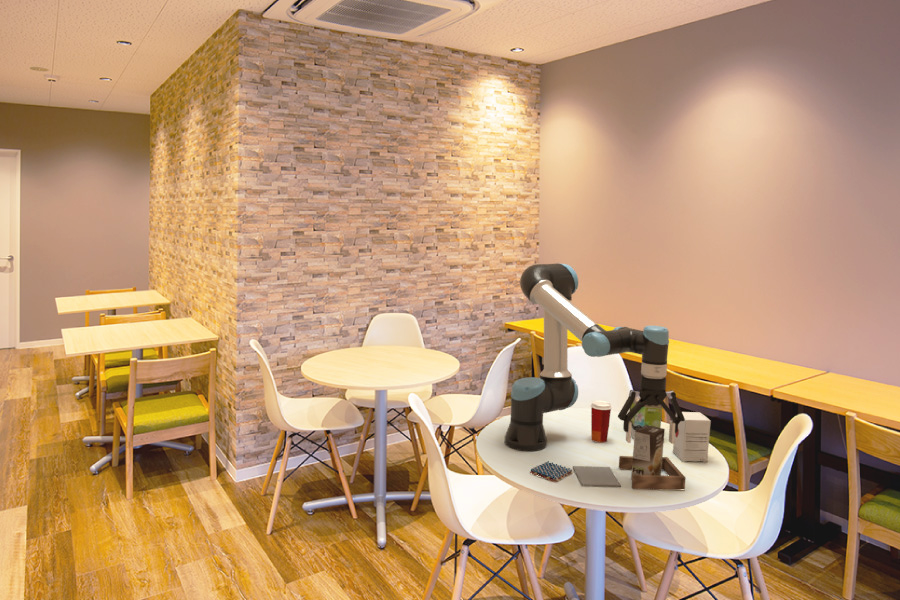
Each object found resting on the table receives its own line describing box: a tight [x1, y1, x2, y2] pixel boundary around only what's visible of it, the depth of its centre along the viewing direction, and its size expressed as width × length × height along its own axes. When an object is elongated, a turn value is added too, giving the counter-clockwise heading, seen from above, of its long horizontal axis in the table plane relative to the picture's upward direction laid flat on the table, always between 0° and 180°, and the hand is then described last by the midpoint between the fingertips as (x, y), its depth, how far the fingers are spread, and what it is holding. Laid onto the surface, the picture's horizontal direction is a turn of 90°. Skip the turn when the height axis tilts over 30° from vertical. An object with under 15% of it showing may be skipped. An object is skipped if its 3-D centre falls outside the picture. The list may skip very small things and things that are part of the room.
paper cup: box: [589, 400, 613, 443], centre depth 232 cm, size 8×8×14 cm
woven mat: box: [529, 460, 573, 484], centre depth 201 cm, size 10×11×2 cm
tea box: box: [628, 396, 663, 439], centre depth 240 cm, size 15×10×15 cm
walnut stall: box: [618, 455, 687, 490], centre depth 199 cm, size 16×16×4 cm
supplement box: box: [672, 411, 712, 463], centre depth 217 cm, size 9×9×15 cm
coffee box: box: [630, 425, 665, 481], centre depth 198 cm, size 9×6×16 cm
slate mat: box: [572, 465, 622, 488], centre depth 199 cm, size 12×14×1 cm
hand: (649, 442), depth 197 cm, fingers open, 13 cm apart
